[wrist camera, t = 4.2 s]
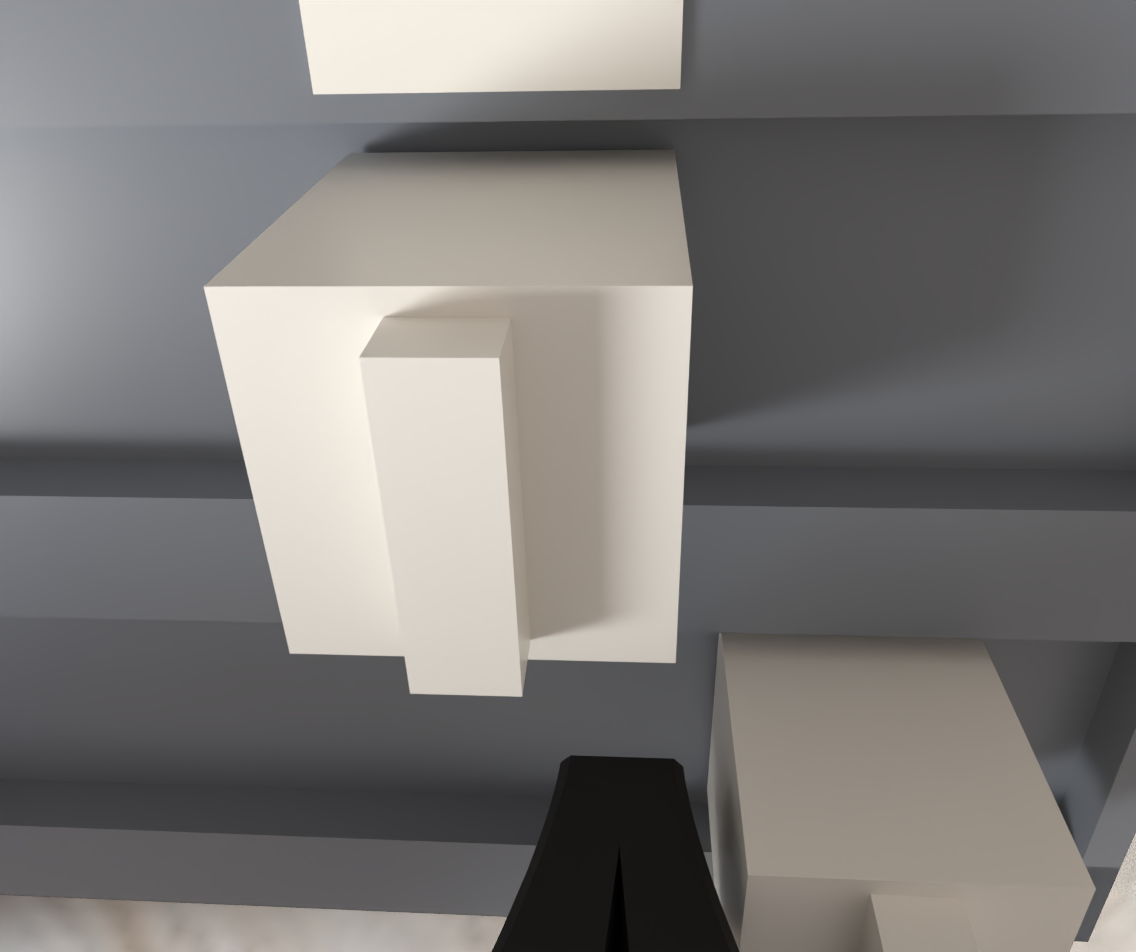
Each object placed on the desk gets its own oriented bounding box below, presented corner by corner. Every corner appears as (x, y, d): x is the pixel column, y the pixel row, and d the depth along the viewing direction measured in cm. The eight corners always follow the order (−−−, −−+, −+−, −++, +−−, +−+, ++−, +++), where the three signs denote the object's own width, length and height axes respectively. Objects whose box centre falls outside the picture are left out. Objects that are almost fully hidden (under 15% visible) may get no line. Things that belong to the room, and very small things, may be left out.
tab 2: (706, 788, 13) (732, 1116, 10) (719, 619, 11) (755, 938, 8) (930, 796, 13) (1039, 1135, 9) (975, 625, 11) (1125, 954, 8)
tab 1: (389, 435, 10) (264, 709, 7) (350, 152, 9) (163, 323, 5) (665, 437, 10) (678, 721, 7) (673, 149, 9) (698, 326, 5)
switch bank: (-39, 793, 16) (-116, 895, 14) (-993, -1015, 6) (-1539, -1322, 5) (1040, 831, 15) (1090, 949, 13) (1804, -1310, 5) (2317, -1837, 4)
